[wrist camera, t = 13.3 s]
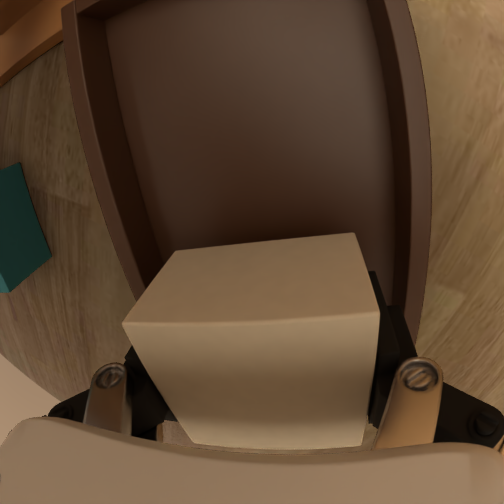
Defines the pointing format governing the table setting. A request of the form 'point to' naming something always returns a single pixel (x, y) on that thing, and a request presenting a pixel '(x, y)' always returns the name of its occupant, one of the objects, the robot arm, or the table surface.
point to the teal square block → (18, 231)
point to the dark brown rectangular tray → (255, 129)
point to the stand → (27, 32)
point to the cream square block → (263, 342)
